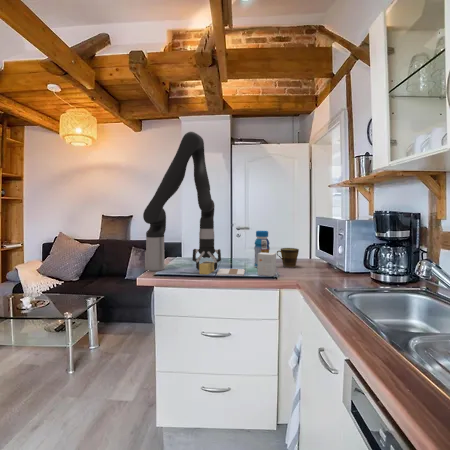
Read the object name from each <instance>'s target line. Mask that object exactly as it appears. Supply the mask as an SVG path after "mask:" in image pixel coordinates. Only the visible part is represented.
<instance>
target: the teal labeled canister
mask: <svg viewBox="0 0 450 450" xmlns="http://www.w3.org/2000/svg"><path fill="white" fill-rule="evenodd" d="M255 237H256V239H255V240H254V248H253V250H254V264H253V265H254V268H257V269H258V255H257V254H258V253H261V252H263V253H270V250H271V248H270V240H269V239H268V237H269V230H256V231H255Z"/></svg>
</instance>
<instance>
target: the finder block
mask: <svg viewBox="0 0 450 450" xmlns="http://www.w3.org/2000/svg"><path fill="white" fill-rule="evenodd" d="M214 263H215V262H214V261H208V260H204V261H202V262H200V263H199V270H198V271H199V275H210V274H211V273H214V272H215V270H214Z"/></svg>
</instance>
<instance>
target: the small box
mask: <svg viewBox="0 0 450 450" xmlns="http://www.w3.org/2000/svg"><path fill="white" fill-rule="evenodd" d="M257 255H258V268H257V275H258V276H263V277H264V276H265V277H274V276H276V275H277V252H269V253H263V252H261V253H258V254H257Z"/></svg>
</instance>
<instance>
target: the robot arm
mask: <svg viewBox="0 0 450 450" xmlns="http://www.w3.org/2000/svg"><path fill="white" fill-rule="evenodd" d="M191 157H192V158H191ZM205 158H206V156H205V142H204V139H203V137H202V136H201V135H200V134H198V133H196V132H195V131H188V132H186V133H185V134H184V135H183V137H182V139H181V141H180V143H179V145H178V149H177V151H176V154H175V155H174V157H173V159H172V160H171V163H170V165H169V167H168V168H167V170H166V172H165V174H164V176H163V178H162V179H161V181H160V183H159V186H158V187H157V189H156V191H155V193H154V195H153V197H152V198H151V199H150V201H149V202H148V204H147V205H146V207H145V208H144V210H143V214H142V219H143V221H144V222H145V223H146V224H148V225H149V228H148V230H147V231H146V233H145V236H146V237H145V240H146V241H145V244H146V245H145V247H146V250H145V251H144V270H145V271H148V272H149V271H150V272H157V271H158V272H159V271H163V270H165V233H166V230H167V226H166V225H167V214H166V210H165V209H164V206H165V204H166V203H167V202H168V201H169V199H171V197H172V196H174V195H175V194H176V192H177V191H178V190H179V189H180V187H181V185H182V184H183V181H184V179H185V176H186V171H187V166H188V163H189V161H190V159H192V164H193V181H194V186H195V189H196V193H197V194H196V195H197V204H198V207H199V209H200V212H201V213H200V219H199V232H198V237H199V238H198V239H199V243H198V244H199V247H198V249H197V248H193V249H192V257H191V258H192V261H193V262H195V268H196V269H197V270H198V271H199V264H200V260H201V259H202V258H203V259H212V261H213V262H214V271H216V270H217V269H218V263H220V262H221V260H222V253H221V249H220V248H219V249H215V224H214V223H215V221H214V217H215V202H214V200H213V199H212V195H211V194H212V193H211V185H210V180H209V175H208V171H207V165H206V159H205ZM198 253H199V256H198V257H197V254H198ZM215 253H216V255H217V258H216V256H215V255H214V254H215Z"/></svg>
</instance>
